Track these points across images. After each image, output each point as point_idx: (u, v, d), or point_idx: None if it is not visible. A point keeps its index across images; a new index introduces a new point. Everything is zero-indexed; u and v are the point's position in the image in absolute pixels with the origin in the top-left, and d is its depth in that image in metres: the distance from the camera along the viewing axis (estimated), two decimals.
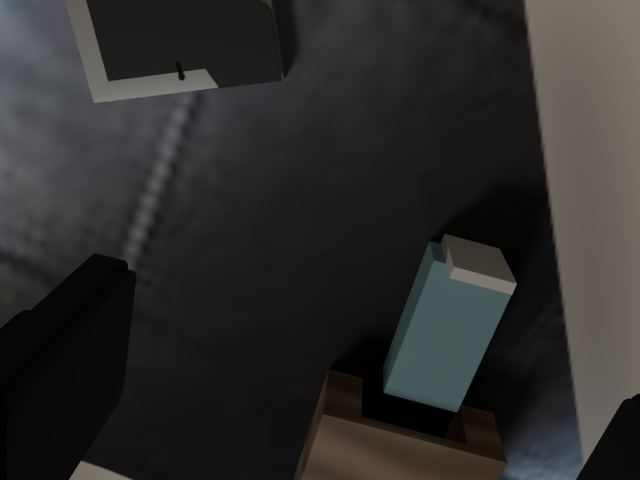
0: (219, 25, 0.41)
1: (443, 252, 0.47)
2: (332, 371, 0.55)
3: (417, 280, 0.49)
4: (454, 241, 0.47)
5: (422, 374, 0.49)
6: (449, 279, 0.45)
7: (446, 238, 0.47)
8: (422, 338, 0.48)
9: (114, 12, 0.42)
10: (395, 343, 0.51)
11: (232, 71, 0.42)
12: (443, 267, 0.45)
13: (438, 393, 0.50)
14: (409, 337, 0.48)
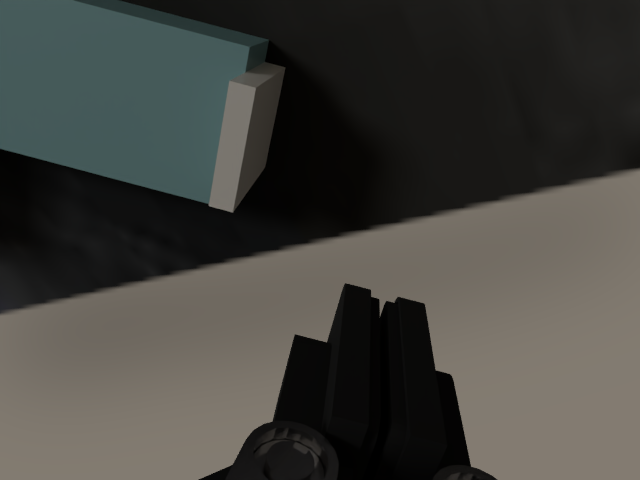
0: None
1: (258, 67, 0.24)
2: None
3: (187, 21, 0.25)
4: (277, 87, 0.25)
5: None
6: (211, 83, 0.23)
7: (281, 71, 0.25)
8: (68, 38, 0.23)
9: None
10: None
11: None
12: (236, 68, 0.22)
13: None
14: (63, 8, 0.22)
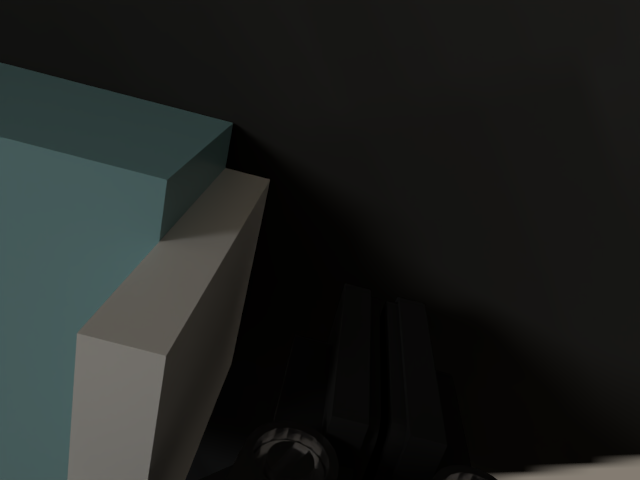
0: None
1: (203, 200, 0.10)
2: None
3: (41, 86, 0.11)
4: (252, 231, 0.11)
5: None
6: (74, 264, 0.09)
7: (260, 197, 0.11)
8: None
9: None
10: None
11: None
12: (135, 231, 0.08)
13: None
14: None
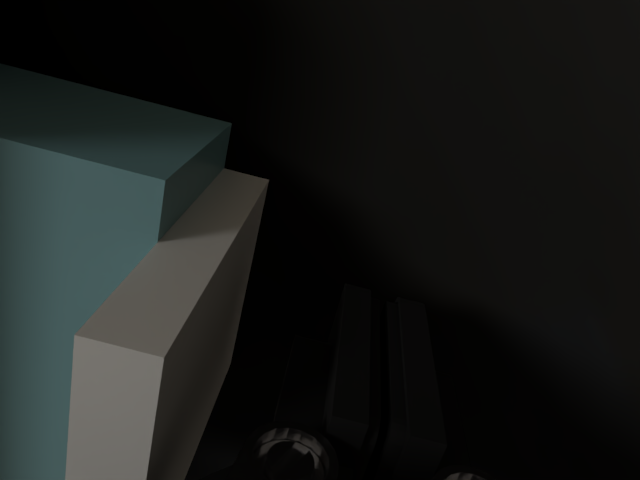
0: None
1: (201, 201, 0.10)
2: None
3: (39, 87, 0.11)
4: (251, 232, 0.11)
5: None
6: (72, 265, 0.09)
7: (259, 197, 0.11)
8: None
9: None
10: None
11: None
12: (133, 232, 0.08)
13: None
14: None
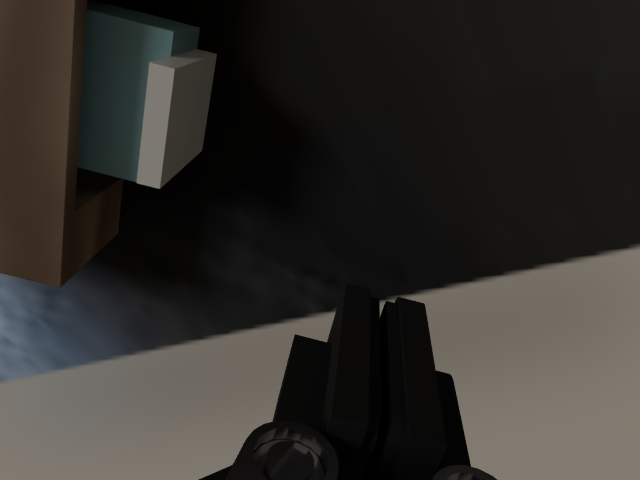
0: None
1: (186, 52, 0.25)
2: None
3: (119, 9, 0.26)
4: (208, 72, 0.26)
5: None
6: (139, 66, 0.24)
7: (211, 57, 0.26)
8: None
9: None
10: None
11: None
12: (162, 52, 0.23)
13: None
14: None
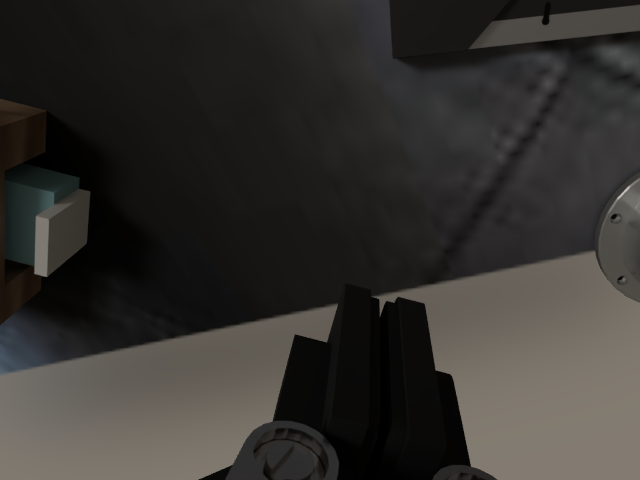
0: None
1: (67, 196, 0.45)
2: (45, 116, 0.44)
3: (31, 170, 0.46)
4: (82, 204, 0.46)
5: None
6: (37, 209, 0.44)
7: (84, 196, 0.46)
8: None
9: None
10: None
11: None
12: (49, 202, 0.43)
13: None
14: None
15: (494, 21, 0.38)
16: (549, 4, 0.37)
